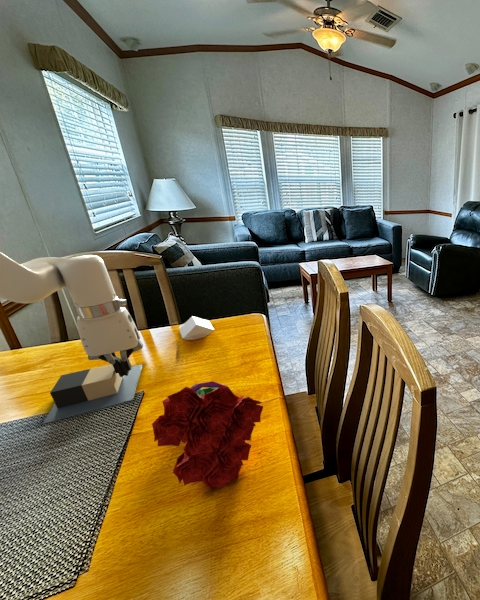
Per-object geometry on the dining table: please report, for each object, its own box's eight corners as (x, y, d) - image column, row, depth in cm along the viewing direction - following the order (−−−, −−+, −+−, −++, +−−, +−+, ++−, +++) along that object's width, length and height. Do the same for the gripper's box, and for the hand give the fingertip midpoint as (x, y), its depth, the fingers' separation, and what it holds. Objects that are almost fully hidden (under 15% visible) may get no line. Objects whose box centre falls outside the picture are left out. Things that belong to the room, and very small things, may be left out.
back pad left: (57, 408, 76) (49, 392, 74) (68, 390, 82) (61, 375, 81) (88, 400, 78) (81, 385, 77) (96, 383, 85) (90, 368, 83)
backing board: (43, 427, 72) (41, 424, 71) (69, 384, 86) (68, 381, 86) (134, 403, 79) (132, 399, 79) (143, 367, 94) (142, 364, 93)
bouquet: (234, 411, 85) (280, 460, 63) (158, 446, 75) (181, 519, 52) (213, 341, 81) (254, 367, 59) (130, 367, 70) (141, 410, 48)
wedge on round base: (216, 338, 109) (208, 325, 118) (212, 320, 106) (204, 308, 116) (185, 347, 104) (179, 332, 113) (180, 328, 101) (174, 315, 111)
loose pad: (88, 400, 78) (81, 385, 77) (96, 383, 85) (90, 368, 83) (117, 393, 81) (111, 378, 79) (123, 377, 87) (117, 362, 86)
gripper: (140, 297, 83) (161, 358, 90) (62, 309, 77) (91, 375, 84) (135, 306, 77) (158, 371, 84) (50, 321, 71) (83, 391, 77)
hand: (125, 373), depth 84 cm, fingers closed
